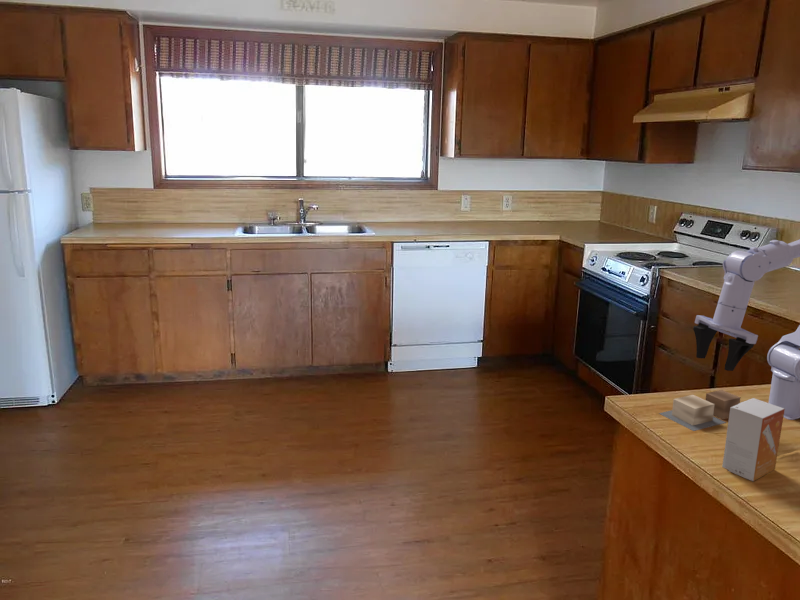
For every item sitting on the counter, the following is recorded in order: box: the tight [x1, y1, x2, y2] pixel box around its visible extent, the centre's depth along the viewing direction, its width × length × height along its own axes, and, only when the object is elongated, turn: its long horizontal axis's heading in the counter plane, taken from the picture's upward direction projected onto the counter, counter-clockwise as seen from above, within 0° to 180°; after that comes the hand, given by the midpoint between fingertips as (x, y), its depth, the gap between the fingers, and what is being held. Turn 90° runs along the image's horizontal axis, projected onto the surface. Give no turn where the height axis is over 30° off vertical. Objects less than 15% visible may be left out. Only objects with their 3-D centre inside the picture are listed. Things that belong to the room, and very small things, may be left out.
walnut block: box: [705, 389, 741, 421], centre depth 147 cm, size 5×5×5 cm
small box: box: [721, 397, 785, 482], centre depth 122 cm, size 8×6×13 cm
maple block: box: [671, 394, 715, 425], centre depth 144 cm, size 6×6×4 cm
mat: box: [658, 409, 727, 432], centre depth 145 cm, size 10×10×1 cm
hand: (714, 363), depth 142 cm, fingers open, 7 cm apart
